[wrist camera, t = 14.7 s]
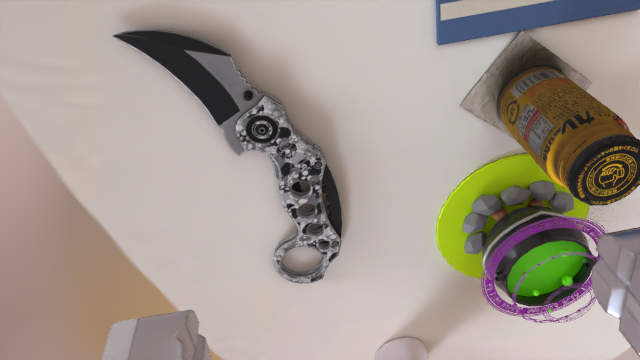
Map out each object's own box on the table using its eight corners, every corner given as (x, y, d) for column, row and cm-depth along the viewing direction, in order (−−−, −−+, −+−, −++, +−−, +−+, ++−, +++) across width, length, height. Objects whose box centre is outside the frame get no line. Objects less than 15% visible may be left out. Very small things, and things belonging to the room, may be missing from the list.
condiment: (529, 148, 47) (605, 231, 37) (459, 104, 44) (521, 182, 34) (590, 81, 44) (691, 152, 34) (520, 29, 41) (608, 90, 31)
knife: (108, 38, 36) (238, -20, 35) (114, 31, 38) (239, -26, 36) (278, 295, 52) (374, 264, 50) (279, 284, 53) (372, 253, 51)
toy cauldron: (601, 142, 47) (686, 215, 38) (574, 265, 55) (638, 350, 46) (437, 165, 47) (483, 245, 37) (434, 287, 55) (471, 377, 46)
